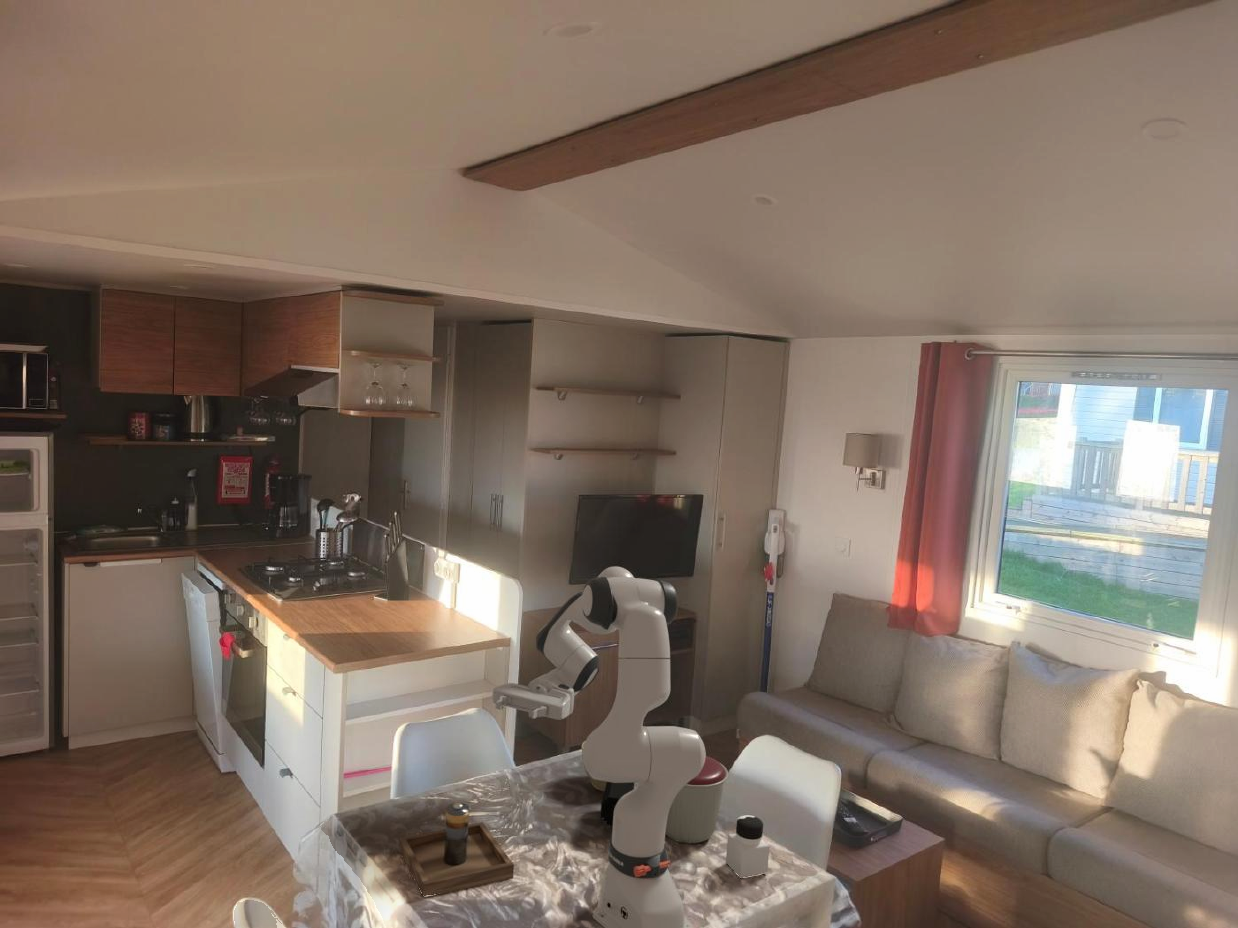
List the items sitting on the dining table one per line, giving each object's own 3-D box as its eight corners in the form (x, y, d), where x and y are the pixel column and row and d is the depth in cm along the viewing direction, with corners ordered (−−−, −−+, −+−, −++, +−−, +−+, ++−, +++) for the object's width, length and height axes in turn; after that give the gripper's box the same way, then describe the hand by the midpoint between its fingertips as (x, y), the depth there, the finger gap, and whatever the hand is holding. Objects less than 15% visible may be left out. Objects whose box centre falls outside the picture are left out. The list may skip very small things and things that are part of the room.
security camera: (633, 804, 226) (635, 768, 225) (627, 840, 207) (629, 800, 207) (607, 801, 226) (609, 765, 226) (598, 837, 208) (601, 797, 207)
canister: (727, 854, 204) (734, 769, 202) (651, 849, 204) (658, 764, 202) (718, 817, 222) (724, 738, 221) (648, 812, 222) (654, 734, 220)
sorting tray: (513, 877, 188) (513, 864, 188) (423, 897, 179) (424, 884, 179) (481, 833, 206) (482, 821, 206) (398, 850, 196) (399, 837, 196)
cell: (469, 862, 191) (472, 807, 190) (447, 867, 189) (450, 811, 188) (462, 851, 196) (465, 797, 195) (440, 855, 193) (443, 801, 192)
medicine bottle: (767, 875, 197) (771, 824, 196) (740, 879, 194) (744, 828, 193) (751, 858, 203) (755, 810, 202) (725, 862, 201) (729, 813, 200)
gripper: (510, 673, 223) (479, 688, 210) (579, 690, 214) (551, 706, 201) (509, 697, 223) (477, 713, 211) (577, 714, 214) (549, 732, 202)
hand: (514, 710), depth 206 cm, fingers open, 8 cm apart
